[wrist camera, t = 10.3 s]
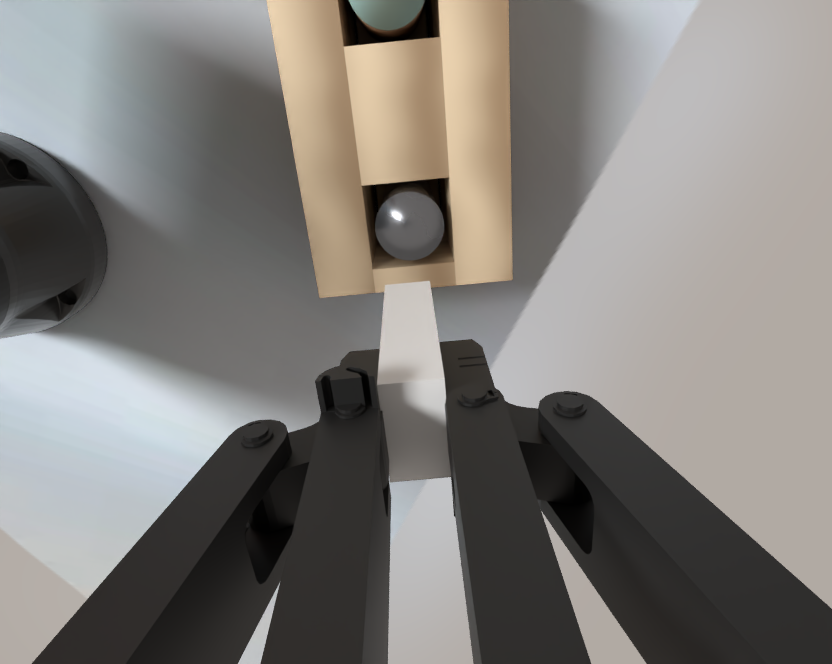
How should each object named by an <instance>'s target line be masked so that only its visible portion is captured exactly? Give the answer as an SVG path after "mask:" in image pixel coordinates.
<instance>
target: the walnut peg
mask: <svg viewBox="0 0 832 664" xmlns="http://www.w3.org/2000/svg"><path fill="white" fill-rule="evenodd" d="M349 2H350V4H351V6H352V8H353V10H354V11H355V13H356V15H357V16H358V18H359V20H360V21H361V23H362V25H363V26H364V28H365V29H366V31H367V32H368V33H369V34H370V35H371V36H372V37H373V38H374V39H376V40H377V41H380V42H382V43H385V42H395V41H404V40H406V39H407V38H408V37H409V36H411V35H412V33H413V32H414V31H415V29H416V28H417V26H418V24H419V21H420V17H421V13H422V9H423V5H424V2H425V0H349Z"/></svg>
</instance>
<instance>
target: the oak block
mask: <svg viewBox="0 0 832 664" xmlns="http://www.w3.org/2000/svg"><path fill="white" fill-rule="evenodd" d="M267 5H268V11H269V17H270V22H271V28H272V34H273V39H274V45H275V51H276V56H277V62H278V68H279V73H280V79H281V84H282V90H283V96H284V101H285V107H286V113H287V118H288V124H289V130H290V135H291V141H292V146H293V152H294V158H295V163H296V169H297V175H298V180H299V186H300V192H301V197H302V203H303V208H304V214H305V220H306V225H307V231H308V237H309V242H310V248H311V254H312V259H313V265H314V270H315V276H316V282H317V287H318V293H319V298H325V297H336V296H347V295H358V294H368V293H379V292H384V291H385V285H389V284H400V283H411V282H422V281H430V285H431V288H433V287H444V286H454V285H465V284H476V283H486V282H497V281H508V280H513V272H512V203H511V133H510V64H509V0H428V14H429V29H430V38H428V36H427V22H426V8H425V2H424V5H423V9H422V13H421V17H420V21H419V24H418V26H417V28H416V29H415V31H414V32H413V33H412V35H411V36H409V37H408V38H407V39H406V40H404V41H395V42H385V43H382V42H380V41H377V40H376V39H374V38H373V37H372V36H371V35H370V34H369V33H368V32H367V31H366V29H365V28H364V26H363V25H362V23H361V21H360V20H359V18H358V16H357V15H356V23H357V31H358V40H359V45H357V43H356V35H355V26H354V18H353V10H352V6H351V4H350V2H349V0H267ZM355 14H356V13H355ZM438 178H440V188H441V203H442V215H443V219H444V233H443V237H442V240H441V242H440V244H439V245H438V247H437V248H436V249H435V250H434V251H433V252H432V253H431V254H429V255H428V256H426V257H424V258H422V259H418V260H411V261H408V260H401V259H398V258H395V257H393V256H392V255H390V254H389V253H387V252H386V251H385V250H384V249H383V247H382V246H381V245H380V243H379V241H378V239H377V236H376V231H375V221H376V216H377V209H376V201H375V193H374V185H375V184H376V191H377V200H378V208H379V209H380V207H381V205H382V201H383V195H384V191H385V188H386V186H387V184H388V183H396V182H406V181H416V180H426V181H427V183H428V184H429V186H430V188H431V190H432V194H433V197H434V201H435V203H436V204H437V205H438V207H439V208H440V206H439V192H438Z"/></svg>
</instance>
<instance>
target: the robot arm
mask: <svg viewBox="0 0 832 664" xmlns="http://www.w3.org/2000/svg"><path fill="white" fill-rule="evenodd" d="M106 262H107V248H106V240H105V235H104V231H103V228H102V224H101V222H100V219H99V217H98V214H97V212H96V210H95V208H94V206H93V204H92V202H91V201H90V199H89V198H88V196H87V194H86V193H85V192H84V190H83V189H82V188H81V186H80V185H79V184H78V183H77V181H76V180H75V179H74V178H73V177H72V176H71V175H70V174H69V173H68V172H67V171H66V170H65V169H64V168H63V167H62V166H61V165H60V164H59V163H58V162H56V161H55V160H54V159H52V158H51V157H50V156H48V155H47V154H46V153H44V152H43V151H41V150H39V149H38V148H36V147H35V146H33V145H31V144H29V143H27V142H25V141H23V140H21V139H18V138H16V137H13V136H11V135H8V134H5V133H1V132H0V339H1V338H7V337H12V336H18V335H24V334H30V333H35V332H39V331H43V330H46V329H48V328H51V327H53V326H56V325H58V324H60V323H61V322H63V321H65V320H66V319H68V318H69V317H71V316H72V315H74V314H75V313H77V312H78V311H79V310H81V309H82V308H83V307H85V306H86V305H87V304H88V303H89V302H90V301H91V300H92V298H93V297H94V296H95V294H96V293H97V291H98V289H99V287H100V285H101V283H102V281H103V278H104V274H105V269H106ZM315 383H316V388H317V394H318V399H319V404H320V409H321V416H320V420H319V422H317V423H316V424H314V425H312V426H309V427H307V428H304V429H301V430H297V431H294V432H290V433H288V431H287V428H286V425H284V424H283V423H281V422H280V421H275V420H258V421H255V422H254V421H253V422H250V423H248V424H246V425H244V426H242V427H240V428H238V429H237V430H235V431H234V432H233V433H232V434H231V435H230V436H229V437H228V438H227V439H226V440H225V441H224V442H223V444H222V445H221V446H220V447H219V448H218V449H217V451H216V452H215V453H214V454H213V455H212V456H211V457H210V459H209V460H208V461H207V462H206V463H205V464H204V466H203V467H202V468H201V469H200V470H199V471H198V472H197V474H196V475H195V476H194V477H193V478H192V479H191V481H190V482H189V483H188V484H187V485H186V486H185V487H184V489H183V490H182V491H181V492H180V493H179V494H178V496H177V497H176V498H175V499H174V500H173V501H172V502H171V504H170V505H169V506H168V507H167V508H166V509H165V510H164V512H163V513H162V514H161V515H160V516H159V517H158V519H157V520H156V521H155V522H154V523H153V524H152V525H151V527H150V528H149V529H148V530H147V531H146V532H145V534H144V535H143V536H142V537H141V538H140V539H139V540H138V542H137V543H136V544H135V545H134V546H133V547H132V549H131V550H130V551H129V552H128V553H127V554H126V555H125V557H124V558H123V559H122V560H121V561H120V562H119V564H118V565H117V566H116V567H115V568H114V569H113V570H112V572H111V573H110V574H109V575H108V576H107V577H106V579H105V580H104V581H103V582H102V583H101V584H100V585H99V587H98V588H97V589H96V590H95V591H94V592H93V594H92V595H91V596H90V597H89V598H88V599H87V600H86V602H85V603H84V604H83V605H82V606H81V607H80V609H79V610H78V611H77V612H76V614H74V616H73V617H72V618H71V619H70V620H69V621H68V622H67V624H66V625H65V626H64V627H63V628H62V629H61V630H60V632H59V633H58V634H57V635H56V636H55V637H54V639H53V640H52V641H51V642H50V643H49V644H48V645H47V647H46V648H45V649H44V650H43V651H42V652H41V654H40V655H39V656H38V657H37V658H36V659H35V661H34V662H33V663H32V664H238V662H239V660H240V658H241V656H242V654H243V652H244V650H245V648H246V646H247V644H248V643H249V641H250V639H251V637H252V635H253V633H254V631H255V629H256V627H257V625H258V623H259V621H260V619H261V617H262V615H263V614H264V612H265V610H266V608H267V606H268V604H269V602H270V600H271V598H272V596H273V594H274V592H275V590H276V588H277V586H278V585H279V583H280V586H279V590H278V594H277V598H276V602H275V606H274V610H273V615H272V619H271V623H270V627H269V631H268V635H267V640H266V644H265V648H264V652H263V656H262V660H261V664H388V619H389V570H390V567H389V566H390V520H391V494H390V486H389V476H390V482H399V481H410V480H422V479H433V478H444V477H451V480H452V494H453V507H454V516H455V517H456V525H457V533H458V541H459V549H460V557H461V565H462V573H463V581H464V589H465V597H466V605H467V614H468V622H469V629H470V638H471V646H472V654H473V662H474V664H591V662H590V659H589V656H588V653H587V650H586V647H585V644H584V640H583V638H582V635H581V632H580V628H579V625H578V622H577V619H576V616H575V613H574V610H573V607H572V604H571V601H570V598H569V595H568V592H567V589H566V586H565V583H564V580H563V576H562V573H561V570H560V568H559V564H558V561H557V558H556V555H555V552H554V549H553V546H552V543H551V540H550V537H549V534H548V531H547V528H546V525H545V522H544V519H543V516H542V513H541V511H542V512H543V514H544V515H545V516H546V518H547V519H548V521H549V522H550V524H551V525H552V527H553V528H554V530H555V531H556V532H557V534H558V535H559V537H560V538H561V540H562V541H563V543H564V544H565V546H566V547H567V548H568V550H569V551H570V553H571V554H572V556H573V557H574V559H575V560H576V562H577V563H578V564H579V566H580V567H581V569H582V570H583V572H584V573H585V574H586V576H587V578H588V579H589V580H590V582H591V583H592V585H593V586H594V587H595V589H596V591H597V592H598V594H599V595H600V596H601V598H602V599H603V601H604V602H605V604H606V605H607V607H608V608H609V610H610V611H611V612H612V614H613V615H614V617H615V618H616V620H617V621H618V623H619V624H620V626H621V627H622V628H623V630H624V631H625V633H626V634H627V636H628V637H629V639H630V640H631V641H632V643H633V644H634V646H635V647H636V649H637V650H638V652H639V653H640V654H641V656H642V657H643V659H644V660H645V662H646V663H647V664H832V609H831V608H830V607H829V606H828V605H827V604H826V603H824V602H823V601H822V600H821V599H820V598H819V597H818V596H817V595H815V594H814V593H813V592H812V591H811V590H810V589H808V588H807V587H806V586H805V585H804V584H803V583H802V582H801V581H800V580H798V579H797V578H796V577H795V576H794V575H793V574H792V573H791V572H789V571H788V570H787V569H786V568H785V567H784V566H783V565H782V564H781V563H779V562H778V561H777V560H776V559H775V558H774V557H773V556H771V555H770V554H769V553H768V552H767V551H766V550H765V549H764V548H762V547H761V546H760V545H759V544H758V543H757V542H756V541H755V540H753V539H752V538H751V537H750V536H749V535H748V534H746V532H744V531H743V530H742V529H741V528H740V527H739V526H738V525H736V524H735V523H734V522H733V521H732V520H731V519H730V518H729V517H727V516H726V515H725V514H724V513H723V512H722V511H721V510H720V509H718V508H717V507H716V506H715V505H714V504H713V503H712V502H710V501H709V500H708V499H707V498H706V497H705V496H704V495H703V494H701V493H700V492H699V491H698V490H697V489H696V488H695V487H694V486H692V485H691V484H690V483H689V482H688V481H687V480H686V479H685V478H684V477H682V476H681V475H680V474H679V473H678V472H677V471H676V470H675V469H673V468H672V467H671V466H670V465H669V464H667V462H665V461H664V460H663V459H662V458H661V457H660V456H659V455H658V454H656V453H655V452H654V451H653V450H652V449H651V448H649V447H648V446H647V445H646V444H645V443H644V442H643V441H642V440H641V439H640V438H638V437H637V436H636V435H635V434H634V433H633V432H632V431H631V430H629V429H628V428H627V427H626V426H625V425H624V424H622V422H620V421H619V420H618V419H617V418H616V417H615V416H614V415H612V414H611V413H610V412H609V411H608V410H607V409H606V408H605V407H603V406H602V405H601V404H600V403H599V402H597V401H596V400H595V399H593V398H592V397H590V396H588V395H584V394H581V393H578V392H569V391H564V392H556V393H553V394H550V395H547V396H545V397H544V398H543V399H542V400H541V401H540V403H539V408H538V409H536V408H526V407H520V406H516V405H513V404H509V403H508V402H506V401H505V400H504V397H503V395H502V394H501V392H500V391H499V390H497V389H496V388H495V387H494V383H493V380H492V377H491V374H490V371H489V368H488V365H487V361H486V358H485V355H484V352H483V348H482V346H480V345H479V344H478V343H476V342H475V341H474V340H472V339H470V340H459V341H448V342H439V338H438V331H437V325H436V318H435V312H434V305H433V298H432V292H431V285H430V281H422V282H411V283H400V284H389V285H385V291H384V304H383V316H382V328H381V341H380V349H374V350H363V351H352V352H349V353H348V354H347V355H346V356H345V357H344V358H343V359H342V360H341V363H340V366H338V367H334V368H332V369H329V370H327V371H325V372H324V373H322V374H321V375H319V376H318V378H317V379H316V381H315Z"/></svg>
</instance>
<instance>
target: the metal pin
mask: <svg viewBox="0 0 832 664" xmlns="http://www.w3.org/2000/svg"><path fill="white" fill-rule="evenodd" d="M375 231H376V236H377V239H378V241H379V243H380V245H381V246H382V247H383V249H384V250H385V251H386V252H387V253H389V254H390V255H392V256H393V257H395V258H398V259H401V260H408V261H411V260H418V259H422V258H424V257H426V256H428V255H429V254H431V253H432V252H433V251H434V250H435V249H436V248H437V247H438V245H439V244H440V242H441V240H442V237H443V233H444V219H443V215H442V213H441V210H440V208H439V207H438V205H437V204H436V203H435V201H434V197H433V194H432V190H431V188H430V186H429V184H428V183H427V181H426V180H416V181H406V182H396V183H388V184H387V186H386V188H385V191H384V195H383V201H382V205H381V207H380V209H379V211H378V213H377V216H376V221H375Z"/></svg>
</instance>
